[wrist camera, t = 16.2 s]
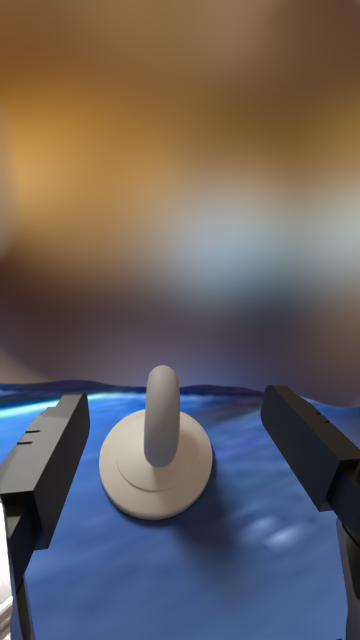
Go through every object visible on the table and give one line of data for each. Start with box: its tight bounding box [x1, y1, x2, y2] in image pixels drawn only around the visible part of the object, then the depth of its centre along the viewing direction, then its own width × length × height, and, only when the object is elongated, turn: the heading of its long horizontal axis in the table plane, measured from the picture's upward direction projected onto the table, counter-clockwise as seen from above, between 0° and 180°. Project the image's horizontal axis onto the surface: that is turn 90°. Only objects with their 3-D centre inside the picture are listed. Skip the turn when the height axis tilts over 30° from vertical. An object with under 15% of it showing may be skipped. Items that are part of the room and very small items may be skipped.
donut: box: [143, 365, 180, 468], centre depth 22 cm, size 10×4×10 cm, turn 6°
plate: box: [99, 409, 212, 520], centre depth 24 cm, size 13×13×1 cm
